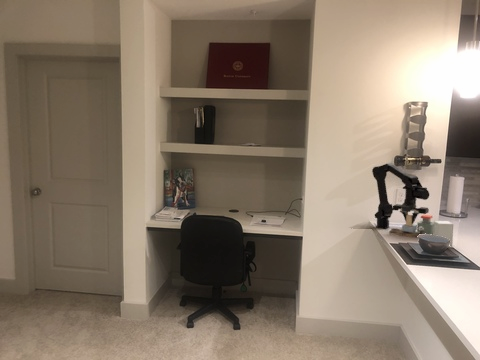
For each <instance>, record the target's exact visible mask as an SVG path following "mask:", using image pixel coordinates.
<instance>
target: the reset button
mask: <svg viewBox="0 0 480 360" xmlns="http://www.w3.org/2000/svg"><path fill="white" fill-rule="evenodd" d="M420 219H422V221H423V223H426V224H430V222H431V219H433V215H431V214H421V216H420Z"/></svg>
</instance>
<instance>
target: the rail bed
mask: <svg viewBox="0 0 480 360" xmlns="http://www.w3.org/2000/svg"><path fill="white" fill-rule="evenodd" d="M389 234H393V235H399V236H403V237H410V238H415V239H418V238H417V236H418V235H419V234H425V233H424V230H423V229H422V230H420V232H417V230H416V231H414V232H408V231H402V228H397V227H391V229H390V230H389ZM425 235H426V234H425Z"/></svg>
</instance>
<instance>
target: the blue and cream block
mask: <svg viewBox="0 0 480 360" xmlns="http://www.w3.org/2000/svg"><path fill="white" fill-rule="evenodd" d="M412 217H413V214H408V215H406V221H405V224H403V225H402V226H401V229H402V231H408V232H414V231H417V224H414V223H413V224H412Z"/></svg>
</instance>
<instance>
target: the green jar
mask: <svg viewBox="0 0 480 360" xmlns="http://www.w3.org/2000/svg"><path fill="white" fill-rule="evenodd" d="M416 225H417V230H416V231H417V232H420V230H422V229H423V230H424V233H426V234H425V235H430V234H432V235H434V222H433V221H430V224H426V223H423V220H420V221H418V222H417V224H416Z"/></svg>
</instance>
